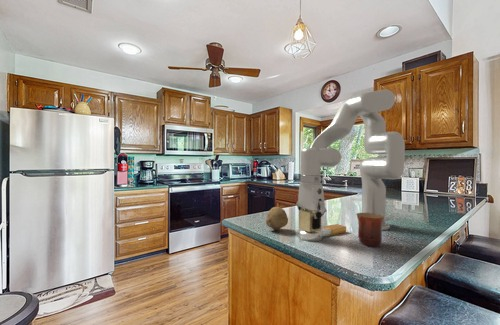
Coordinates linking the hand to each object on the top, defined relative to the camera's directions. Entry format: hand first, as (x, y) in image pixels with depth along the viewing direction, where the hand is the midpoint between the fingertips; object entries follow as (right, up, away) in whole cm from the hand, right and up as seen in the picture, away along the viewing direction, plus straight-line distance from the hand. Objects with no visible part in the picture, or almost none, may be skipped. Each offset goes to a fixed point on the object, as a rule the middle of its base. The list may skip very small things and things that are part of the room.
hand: (310, 226), depth 86 cm
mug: (+19, -5, -8) cm, 21 cm away
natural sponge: (-12, -5, +9) cm, 15 cm away
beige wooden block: (0, -1, 0) cm, 1 cm away
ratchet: (+6, -4, +3) cm, 8 cm away
